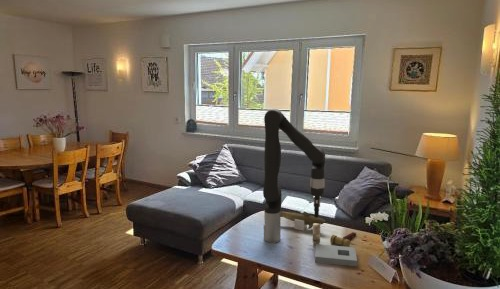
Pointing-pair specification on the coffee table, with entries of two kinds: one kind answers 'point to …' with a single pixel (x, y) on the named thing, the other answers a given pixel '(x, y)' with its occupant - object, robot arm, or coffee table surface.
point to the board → (335, 255)
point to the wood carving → (301, 219)
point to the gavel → (342, 239)
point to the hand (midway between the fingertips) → (316, 214)
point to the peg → (316, 234)
